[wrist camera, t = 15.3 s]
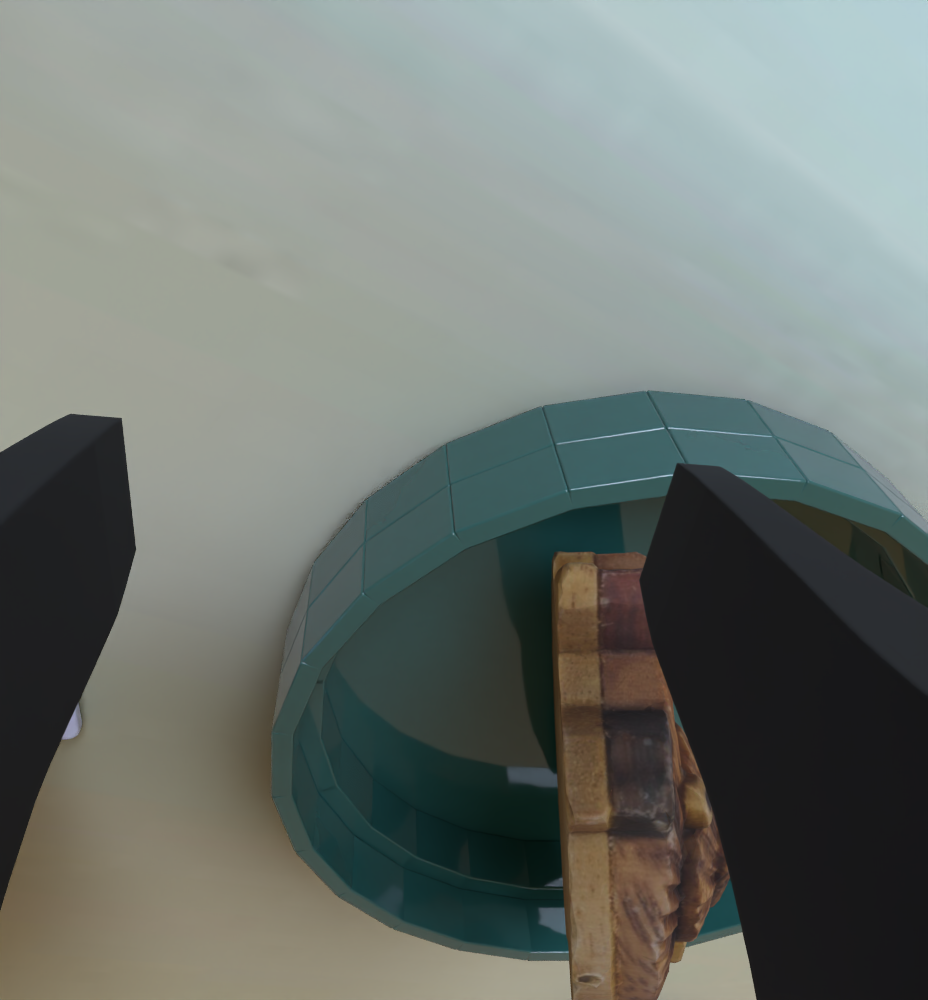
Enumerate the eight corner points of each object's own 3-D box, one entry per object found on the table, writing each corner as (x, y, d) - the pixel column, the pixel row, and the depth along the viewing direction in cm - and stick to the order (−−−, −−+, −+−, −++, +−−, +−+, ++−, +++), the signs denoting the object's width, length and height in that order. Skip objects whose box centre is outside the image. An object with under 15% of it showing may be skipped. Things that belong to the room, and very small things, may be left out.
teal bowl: (284, 843, 32) (269, 962, 28) (294, 348, 21) (272, 438, 17) (786, 851, 35) (832, 960, 31) (1041, 418, 23) (1162, 508, 20)
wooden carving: (661, 804, 32) (756, 1111, 23) (543, 823, 32) (595, 1134, 23) (642, 436, 22) (788, 731, 14) (475, 467, 22) (521, 775, 14)
